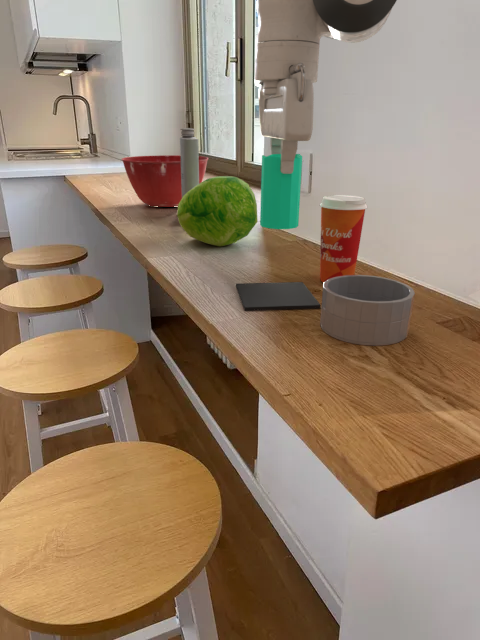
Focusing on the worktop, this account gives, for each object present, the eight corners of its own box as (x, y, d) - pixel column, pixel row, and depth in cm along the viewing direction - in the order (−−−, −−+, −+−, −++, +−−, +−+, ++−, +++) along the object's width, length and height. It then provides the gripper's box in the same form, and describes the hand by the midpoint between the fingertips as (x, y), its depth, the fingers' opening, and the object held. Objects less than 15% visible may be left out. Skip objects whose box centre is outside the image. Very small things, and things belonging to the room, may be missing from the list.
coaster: (302, 285, 88) (302, 281, 88) (320, 308, 77) (320, 305, 77) (235, 286, 87) (235, 283, 87) (244, 310, 76) (244, 307, 76)
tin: (387, 311, 77) (392, 273, 75) (423, 343, 66) (430, 301, 63) (310, 313, 75) (313, 275, 73) (334, 347, 64) (338, 304, 62)
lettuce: (229, 230, 129) (185, 182, 123) (282, 201, 114) (234, 145, 108) (200, 275, 120) (149, 226, 114) (253, 250, 105) (198, 191, 99)
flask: (181, 215, 150) (179, 127, 141) (197, 215, 151) (195, 127, 141) (183, 227, 134) (180, 128, 125) (200, 227, 135) (198, 128, 125)
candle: (285, 220, 81) (289, 143, 77) (305, 227, 76) (310, 145, 72) (253, 223, 79) (255, 143, 74) (271, 230, 74) (274, 145, 69)
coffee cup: (304, 279, 91) (310, 197, 86) (332, 271, 96) (339, 193, 91) (341, 290, 86) (350, 202, 80) (368, 281, 91) (378, 198, 85)
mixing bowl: (124, 213, 152) (120, 160, 147) (125, 199, 178) (121, 154, 172) (214, 211, 158) (214, 160, 152) (202, 198, 184) (202, 154, 178)
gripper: (329, 61, 60) (321, 178, 65) (292, 75, 79) (288, 165, 84) (278, 59, 59) (274, 178, 65) (253, 74, 78) (251, 165, 83)
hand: (281, 171), depth 75 cm, fingers closed on candle, 5 cm apart
